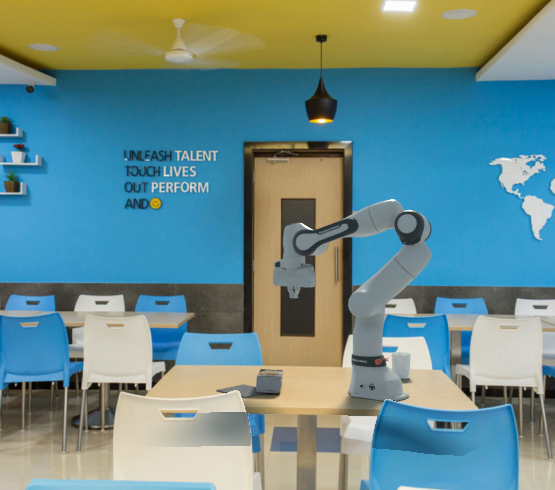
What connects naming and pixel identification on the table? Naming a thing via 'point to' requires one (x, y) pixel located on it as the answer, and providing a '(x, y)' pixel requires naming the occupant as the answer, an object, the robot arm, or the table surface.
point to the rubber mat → (242, 390)
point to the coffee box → (269, 381)
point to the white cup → (401, 364)
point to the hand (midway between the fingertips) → (293, 298)
